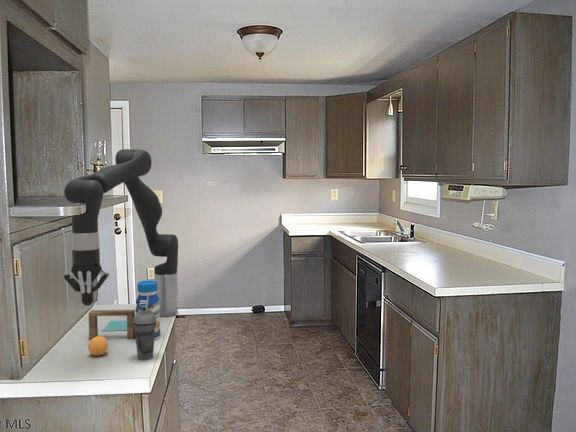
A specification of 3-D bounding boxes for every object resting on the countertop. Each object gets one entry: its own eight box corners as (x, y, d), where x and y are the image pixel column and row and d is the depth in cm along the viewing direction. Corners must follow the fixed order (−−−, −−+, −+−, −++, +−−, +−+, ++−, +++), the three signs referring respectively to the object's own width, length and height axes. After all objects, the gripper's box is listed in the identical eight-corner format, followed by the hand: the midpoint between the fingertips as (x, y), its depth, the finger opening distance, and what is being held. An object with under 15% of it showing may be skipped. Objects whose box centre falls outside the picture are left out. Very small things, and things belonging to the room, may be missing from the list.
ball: (92, 351, 157) (91, 333, 157) (111, 351, 158) (110, 333, 157) (86, 358, 151) (85, 340, 151) (105, 358, 152) (105, 339, 151)
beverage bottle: (149, 332, 177) (148, 278, 175) (165, 336, 172) (164, 281, 170) (130, 338, 170) (129, 283, 168) (147, 343, 165) (146, 286, 163)
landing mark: (111, 321, 190) (111, 320, 190) (142, 320, 191) (142, 320, 191) (101, 331, 178) (101, 330, 178) (135, 330, 179) (135, 329, 179)
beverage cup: (136, 353, 156) (135, 292, 154) (159, 353, 156) (158, 292, 154) (130, 362, 149) (129, 298, 147) (154, 361, 149) (153, 298, 147)
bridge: (92, 337, 171) (91, 310, 170) (135, 336, 172) (134, 309, 171) (89, 340, 168) (88, 312, 167) (133, 339, 169) (132, 312, 169)
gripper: (112, 245, 147) (113, 301, 148) (67, 245, 145) (69, 302, 147) (105, 249, 139) (106, 307, 141) (57, 249, 138) (59, 308, 139)
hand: (87, 304), depth 144 cm, fingers closed
